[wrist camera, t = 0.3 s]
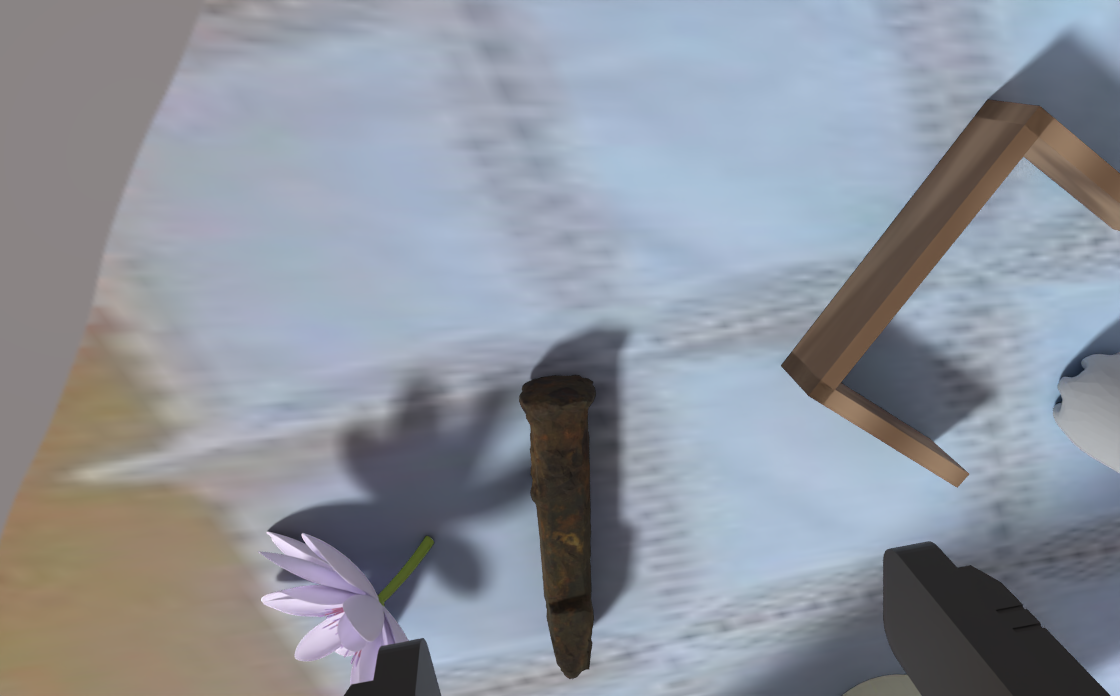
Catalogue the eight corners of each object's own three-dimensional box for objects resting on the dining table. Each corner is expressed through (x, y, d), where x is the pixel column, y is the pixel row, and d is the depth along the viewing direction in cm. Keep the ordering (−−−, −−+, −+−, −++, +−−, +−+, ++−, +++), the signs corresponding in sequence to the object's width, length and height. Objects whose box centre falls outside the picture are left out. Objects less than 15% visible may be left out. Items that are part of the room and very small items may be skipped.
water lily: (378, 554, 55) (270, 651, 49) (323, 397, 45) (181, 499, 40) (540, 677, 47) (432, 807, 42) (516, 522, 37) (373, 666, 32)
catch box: (1126, 213, 43) (1187, 230, 39) (919, 452, 47) (957, 487, 44) (987, 99, 40) (1039, 106, 36) (780, 365, 44) (808, 395, 41)
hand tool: (517, 370, 43) (521, 408, 39) (590, 367, 44) (602, 404, 39) (523, 643, 50) (527, 700, 46) (585, 639, 51) (595, 695, 46)
